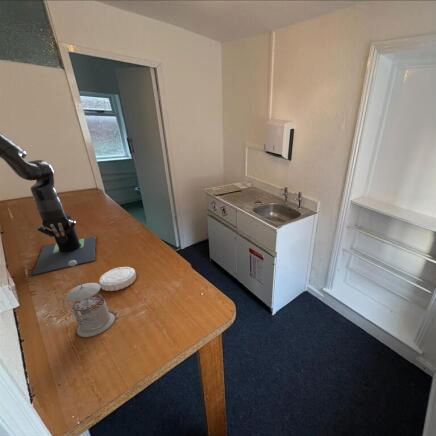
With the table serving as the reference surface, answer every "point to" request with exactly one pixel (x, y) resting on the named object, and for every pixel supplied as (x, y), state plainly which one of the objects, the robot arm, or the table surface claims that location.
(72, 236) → the aerosol can
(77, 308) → the french press
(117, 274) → the mooncake
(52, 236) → the robot arm
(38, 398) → the table surface
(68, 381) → the table surface
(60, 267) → the board
